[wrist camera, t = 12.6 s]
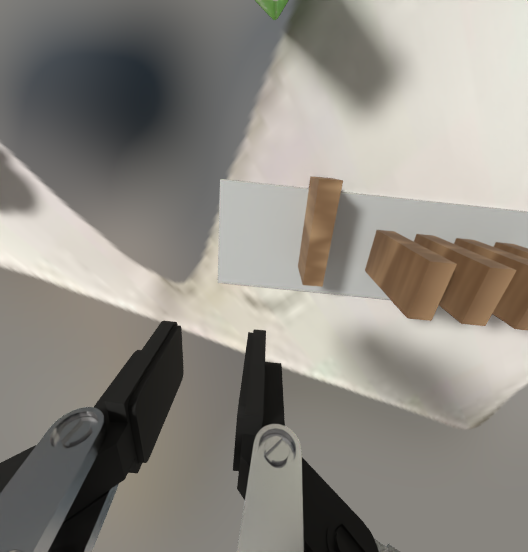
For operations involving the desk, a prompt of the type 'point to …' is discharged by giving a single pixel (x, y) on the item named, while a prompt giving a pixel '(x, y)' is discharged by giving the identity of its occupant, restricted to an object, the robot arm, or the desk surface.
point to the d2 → (521, 290)
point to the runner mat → (338, 234)
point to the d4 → (409, 274)
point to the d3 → (469, 281)
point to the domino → (318, 229)
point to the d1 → (513, 249)
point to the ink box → (272, 7)
